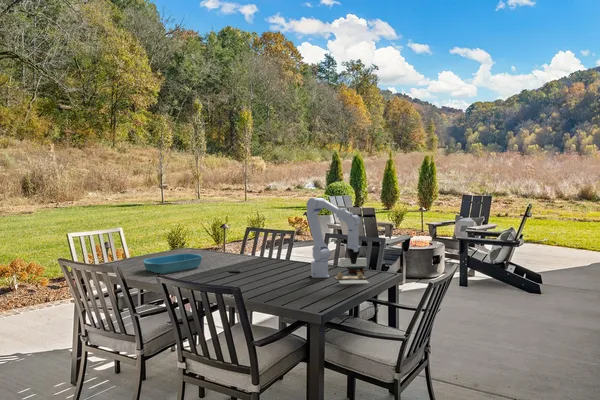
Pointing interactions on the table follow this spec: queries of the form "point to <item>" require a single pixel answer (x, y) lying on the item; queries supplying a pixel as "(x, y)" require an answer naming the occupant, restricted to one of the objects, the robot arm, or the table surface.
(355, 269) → the binoculars
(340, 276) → the rack
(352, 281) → the mat
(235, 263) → the table surface
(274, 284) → the table surface
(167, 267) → the casserole dish
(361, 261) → the rail
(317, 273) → the robot arm
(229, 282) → the table surface
